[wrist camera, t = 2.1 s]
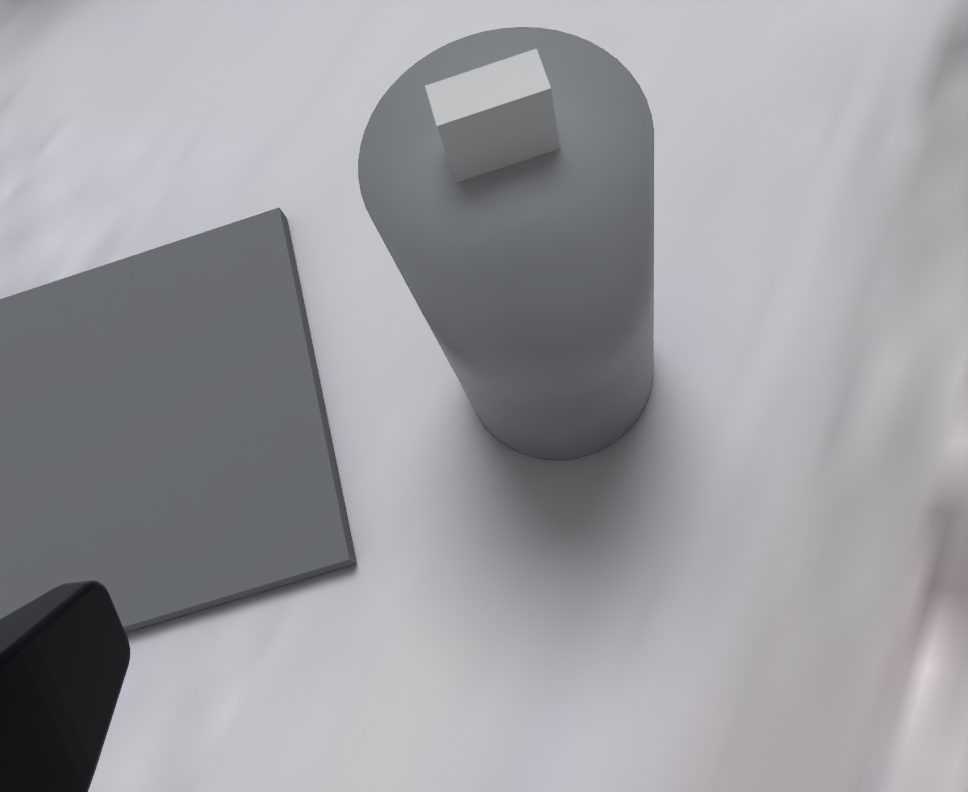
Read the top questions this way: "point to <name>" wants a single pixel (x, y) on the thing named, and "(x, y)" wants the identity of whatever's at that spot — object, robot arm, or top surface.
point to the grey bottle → (525, 229)
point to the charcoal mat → (167, 430)
